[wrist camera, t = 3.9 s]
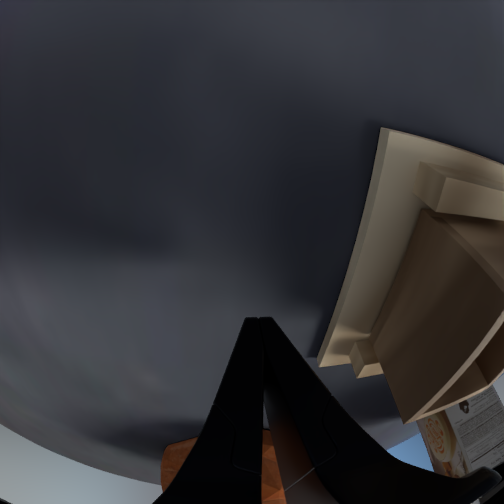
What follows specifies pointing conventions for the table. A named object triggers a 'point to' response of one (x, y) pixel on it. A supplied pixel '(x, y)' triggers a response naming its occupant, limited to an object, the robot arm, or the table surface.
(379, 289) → the beige cubby shelf
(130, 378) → the table surface
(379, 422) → the table surface
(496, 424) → the coffee box
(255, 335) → the robot arm
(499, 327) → the crate
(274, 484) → the bread
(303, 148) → the table surface
